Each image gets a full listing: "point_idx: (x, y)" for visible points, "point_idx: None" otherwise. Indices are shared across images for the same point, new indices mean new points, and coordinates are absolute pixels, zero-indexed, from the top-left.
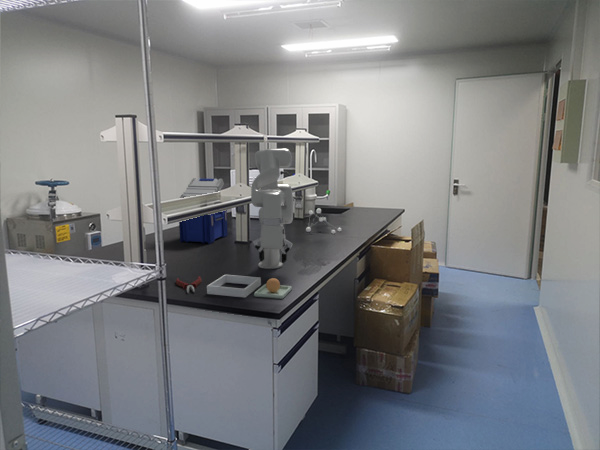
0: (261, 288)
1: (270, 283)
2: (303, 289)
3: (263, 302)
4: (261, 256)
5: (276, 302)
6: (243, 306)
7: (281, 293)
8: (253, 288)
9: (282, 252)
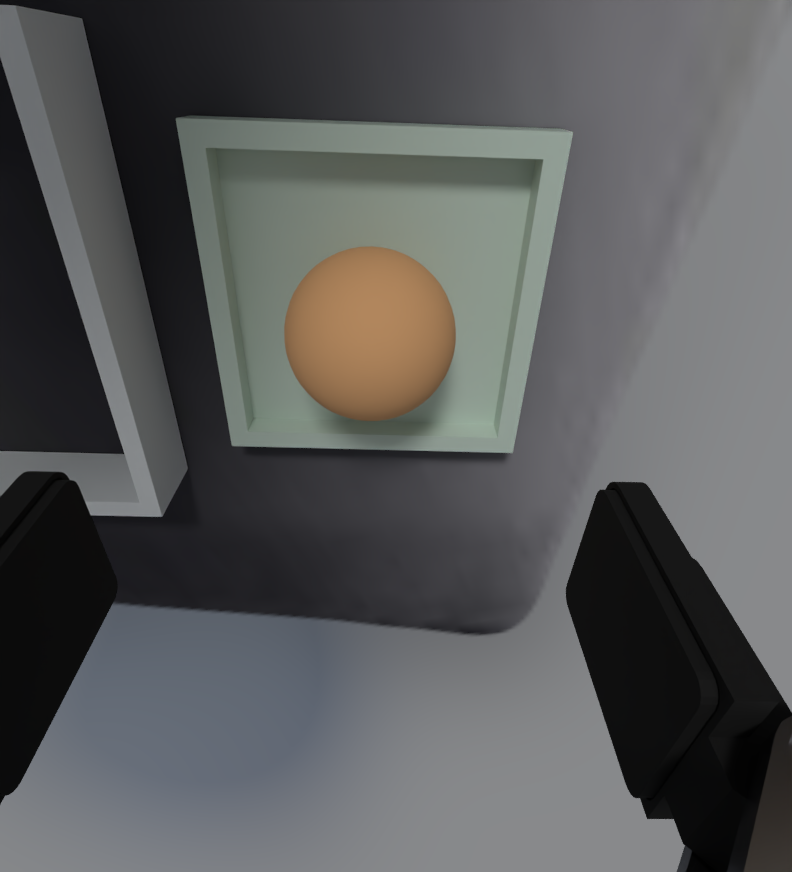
0: (229, 306)
1: (361, 420)
2: (716, 73)
3: (375, 521)
4: (60, 690)
5: (472, 503)
6: (274, 598)
7: (471, 330)
8: (135, 302)
9: (681, 869)
